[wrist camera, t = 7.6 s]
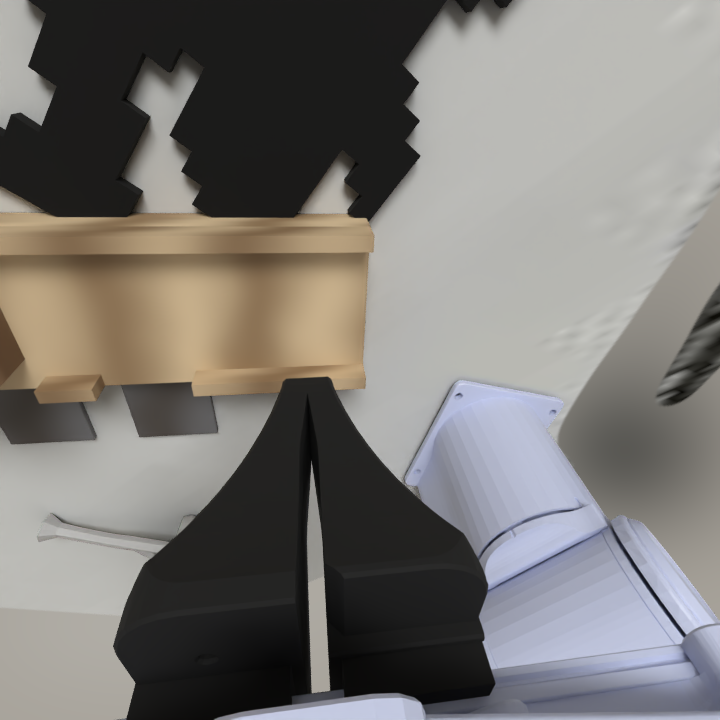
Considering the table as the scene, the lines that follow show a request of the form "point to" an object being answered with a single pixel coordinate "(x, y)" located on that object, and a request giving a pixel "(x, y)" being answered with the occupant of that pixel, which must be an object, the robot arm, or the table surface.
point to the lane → (175, 314)
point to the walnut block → (8, 351)
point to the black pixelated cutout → (223, 101)
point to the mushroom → (103, 536)
